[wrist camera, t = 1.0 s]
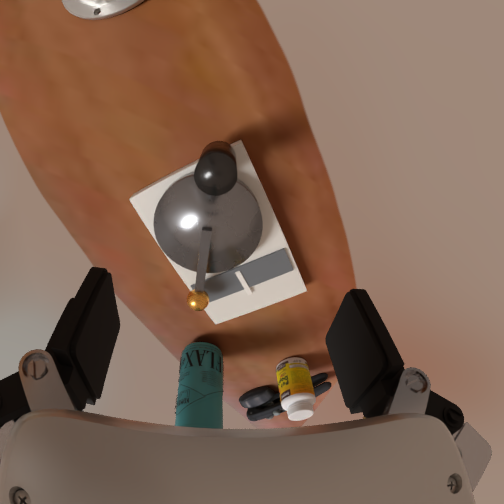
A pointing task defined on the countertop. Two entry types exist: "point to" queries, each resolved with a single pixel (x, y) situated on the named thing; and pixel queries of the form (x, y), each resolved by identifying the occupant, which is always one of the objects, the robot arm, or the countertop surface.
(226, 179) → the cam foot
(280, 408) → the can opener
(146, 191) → the stand
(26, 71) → the countertop surface
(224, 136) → the countertop surface
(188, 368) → the beverage bottle
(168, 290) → the countertop surface
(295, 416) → the supplement bottle
